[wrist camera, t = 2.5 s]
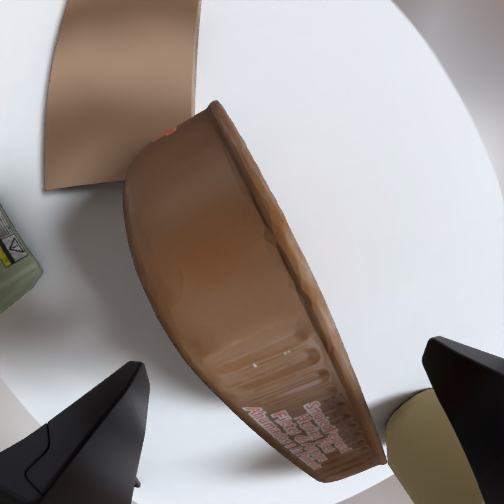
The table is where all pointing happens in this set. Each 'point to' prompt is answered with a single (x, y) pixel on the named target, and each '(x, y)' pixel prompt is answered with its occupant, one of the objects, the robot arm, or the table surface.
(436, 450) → the squeeze bottle
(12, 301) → the handheld radio
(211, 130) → the tin
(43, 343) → the table surface
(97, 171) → the walnut board
